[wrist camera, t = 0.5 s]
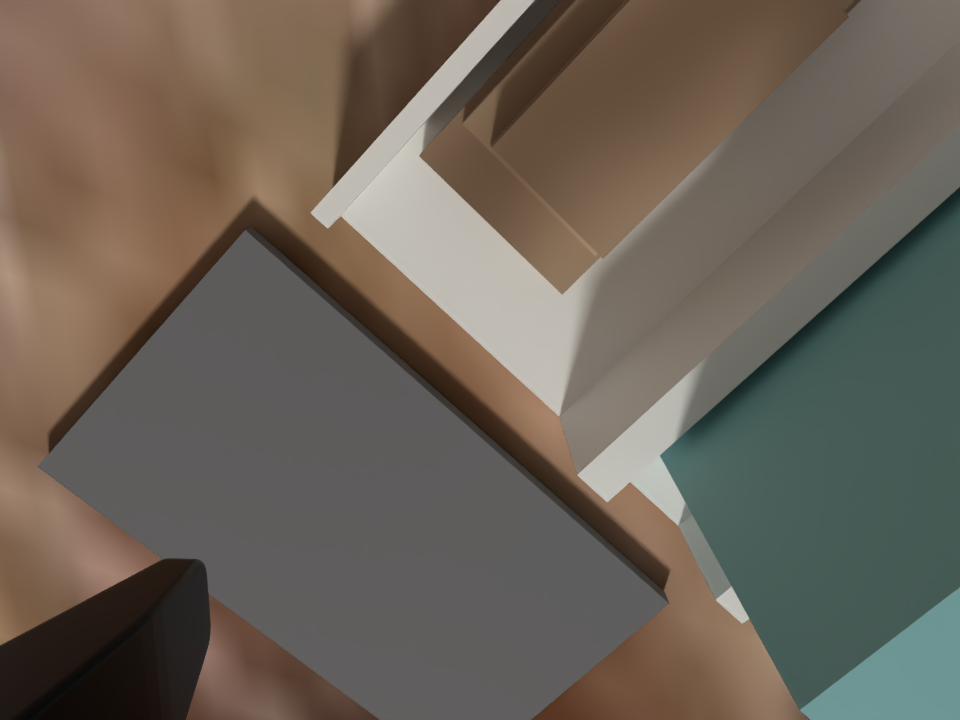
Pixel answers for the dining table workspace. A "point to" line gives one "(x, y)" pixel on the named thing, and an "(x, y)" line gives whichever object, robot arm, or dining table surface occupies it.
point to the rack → (681, 239)
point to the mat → (348, 504)
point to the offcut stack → (615, 115)
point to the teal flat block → (849, 490)
